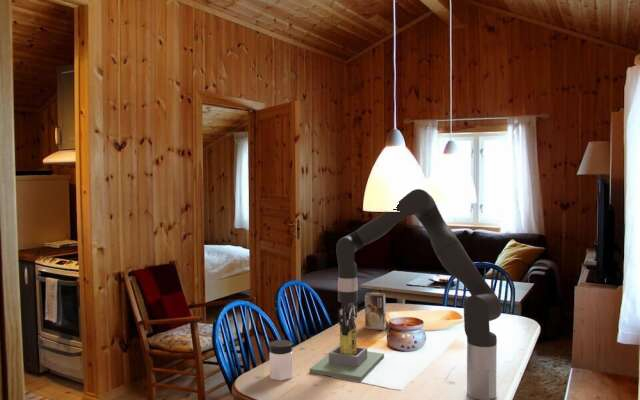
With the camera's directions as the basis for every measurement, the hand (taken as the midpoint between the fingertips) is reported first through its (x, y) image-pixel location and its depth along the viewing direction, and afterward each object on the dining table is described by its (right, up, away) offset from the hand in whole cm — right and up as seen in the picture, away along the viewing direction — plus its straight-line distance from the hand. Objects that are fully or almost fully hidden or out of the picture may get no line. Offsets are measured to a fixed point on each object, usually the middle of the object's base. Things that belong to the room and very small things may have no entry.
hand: (348, 332), depth 201 cm
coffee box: (+15, -10, +49) cm, 52 cm away
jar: (-25, -13, -10) cm, 30 cm away
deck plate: (0, -12, +1) cm, 12 cm away
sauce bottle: (0, -10, 0) cm, 10 cm away
